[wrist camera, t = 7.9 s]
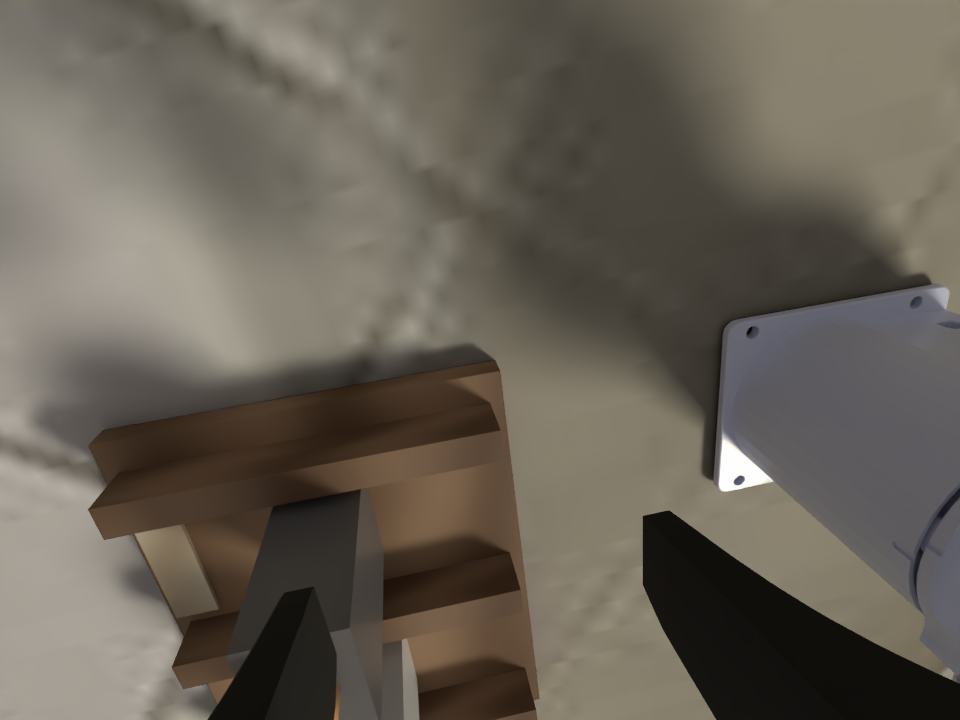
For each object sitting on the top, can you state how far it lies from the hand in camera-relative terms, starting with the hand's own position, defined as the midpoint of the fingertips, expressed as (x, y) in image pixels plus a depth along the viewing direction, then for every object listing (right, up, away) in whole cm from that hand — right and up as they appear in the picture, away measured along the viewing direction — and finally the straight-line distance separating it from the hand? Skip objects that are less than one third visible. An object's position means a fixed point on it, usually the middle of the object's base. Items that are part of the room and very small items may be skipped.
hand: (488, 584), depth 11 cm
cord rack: (-5, -5, +11) cm, 13 cm away
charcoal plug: (-6, -1, +9) cm, 11 cm away
